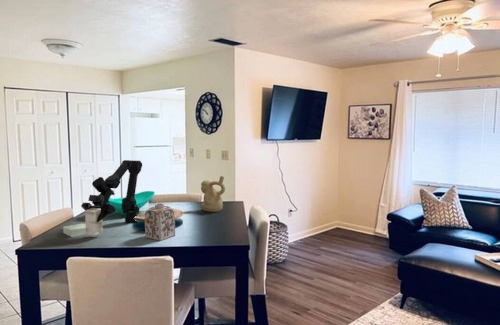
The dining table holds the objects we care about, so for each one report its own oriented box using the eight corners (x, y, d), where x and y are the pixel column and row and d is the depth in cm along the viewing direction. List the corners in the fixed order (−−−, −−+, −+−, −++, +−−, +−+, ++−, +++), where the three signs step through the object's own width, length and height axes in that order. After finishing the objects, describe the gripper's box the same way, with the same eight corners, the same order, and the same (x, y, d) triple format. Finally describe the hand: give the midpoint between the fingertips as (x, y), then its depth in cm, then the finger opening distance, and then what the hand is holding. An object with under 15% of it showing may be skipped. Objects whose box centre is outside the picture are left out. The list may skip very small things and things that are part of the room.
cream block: (93, 230, 203) (93, 207, 201) (102, 232, 201) (102, 208, 199) (85, 233, 197) (85, 210, 195) (94, 235, 195) (94, 211, 193)
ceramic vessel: (207, 206, 275) (206, 173, 273) (230, 209, 267) (230, 175, 265) (194, 211, 260) (194, 176, 257) (219, 214, 252) (218, 177, 249)
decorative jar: (160, 232, 207) (159, 201, 206) (175, 235, 202) (175, 203, 200) (144, 238, 197) (143, 205, 196) (160, 241, 191) (159, 207, 190)
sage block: (85, 229, 217) (84, 222, 217) (93, 233, 209) (93, 226, 208) (63, 233, 208) (63, 226, 208) (71, 237, 200) (71, 230, 200)
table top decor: (103, 221, 233) (103, 201, 232) (92, 214, 255) (91, 195, 254) (162, 212, 257) (161, 194, 256) (146, 206, 279) (146, 189, 278)
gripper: (82, 188, 203) (68, 212, 193) (111, 189, 198) (98, 214, 188) (93, 199, 211) (80, 223, 202) (120, 201, 206) (109, 225, 196)
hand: (91, 221), depth 197 cm, fingers closed on cream block, 7 cm apart
